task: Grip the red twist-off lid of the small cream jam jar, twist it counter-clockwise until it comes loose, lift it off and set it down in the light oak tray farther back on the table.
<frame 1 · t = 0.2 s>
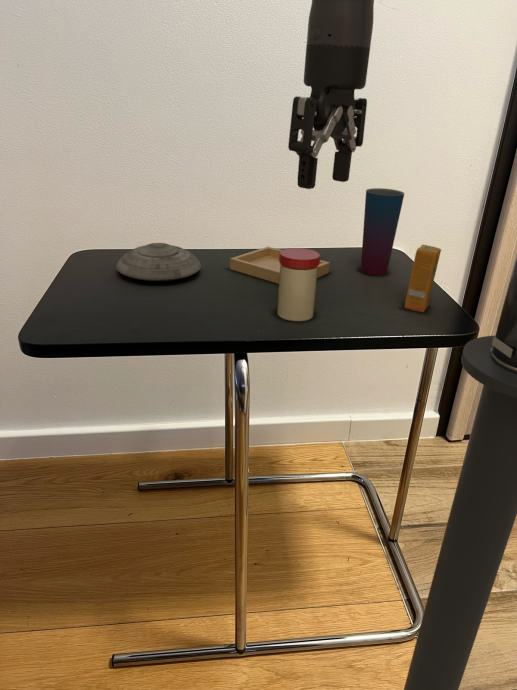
hand: (323, 184, 71), 20 cm above the table, tool pointing down, fingers open, 8 cm apart
tray: (279, 271, 102), on the table
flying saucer: (159, 274, 98), on the table
lid: (299, 255, 79), point 9 cm above the table, screwed on, not yet turned
supplement box: (416, 309, 88), on the table
cup: (373, 272, 104), on the table
jar: (295, 314, 84), on the table
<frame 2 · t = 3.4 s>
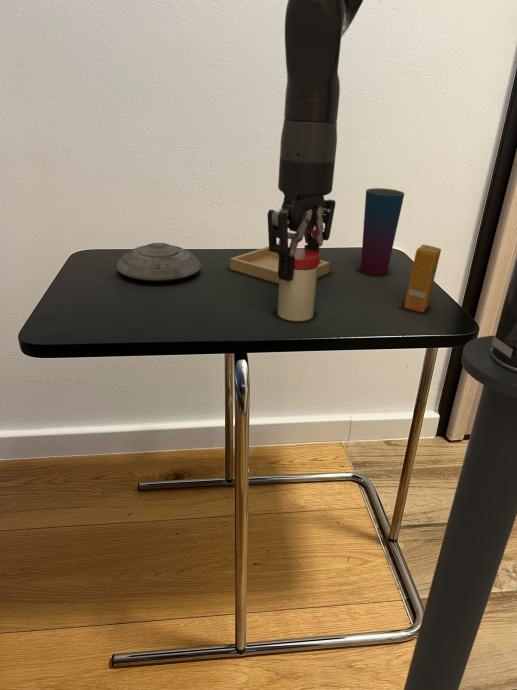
hand: (298, 274, 81), 6 cm above the table, tool pointing down, fingers closed on lid, 5 cm apart
lid: (299, 255, 79), point 9 cm above the table, screwed on, not yet turned, touching gripper
everything else where it was.
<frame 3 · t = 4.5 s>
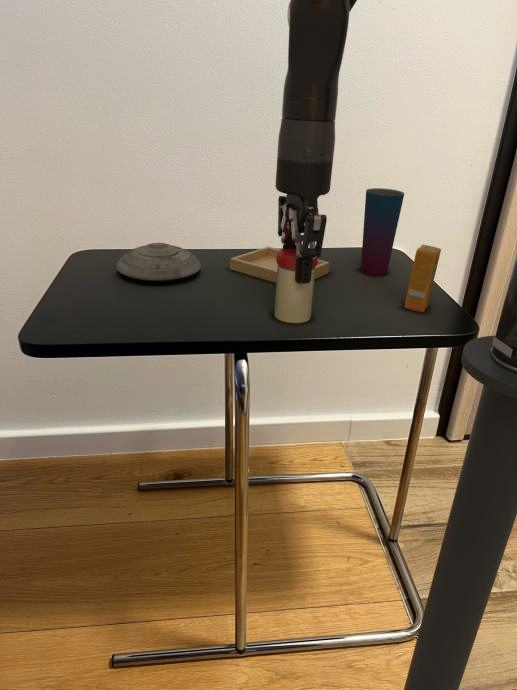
hand: (295, 275, 80), 7 cm above the table, tool pointing down, fingers closed on lid, 5 cm apart
lid: (297, 256, 79), point 9 cm above the table, turned 46° so far, risen 0.1 cm, still on its thread, touching gripper
everything else where it was.
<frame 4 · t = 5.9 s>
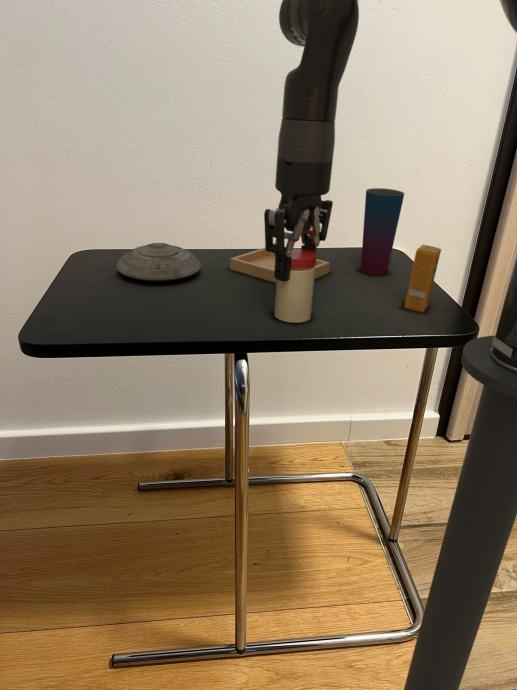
hand: (294, 274, 80), 7 cm above the table, tool pointing down, fingers closed on lid, 5 cm apart
lid: (296, 255, 79), point 9 cm above the table, off its thread, touching gripper
jar: (292, 315, 83), on the table, touching gripper
everything else where it was.
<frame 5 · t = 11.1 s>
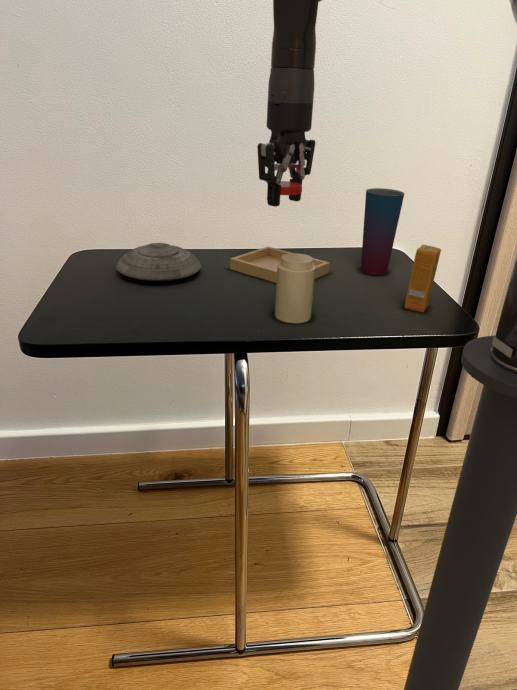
hand: (284, 202, 96), 13 cm above the table, tool pointing down, fingers closed on lid, 5 cm apart
lid: (285, 185, 95), point 16 cm above the table, off its thread, touching gripper
jar: (292, 315, 83), on the table
everything else where it was.
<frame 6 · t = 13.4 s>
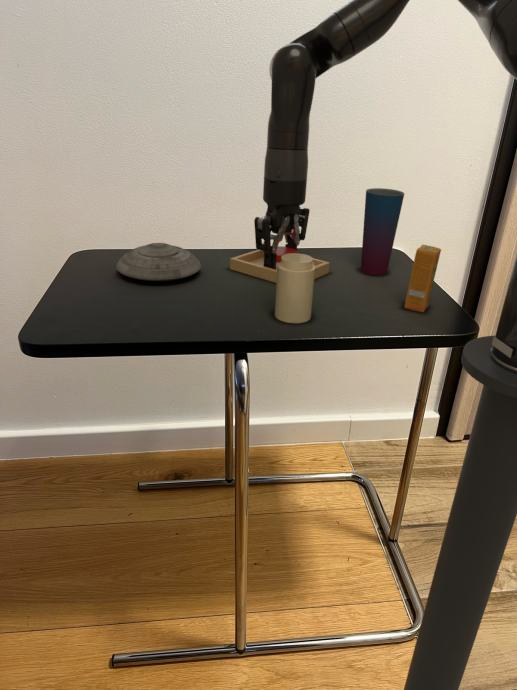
hand: (279, 267, 102), 1 cm above the table, tool pointing down, fingers closed on lid, 5 cm apart
lid: (280, 252, 100), point 4 cm above the table, off its thread, touching gripper
everything else where it was.
when the fingers open (1 cm above the table, at t = 18.9 s): lid drops 2 cm, resting on tray.
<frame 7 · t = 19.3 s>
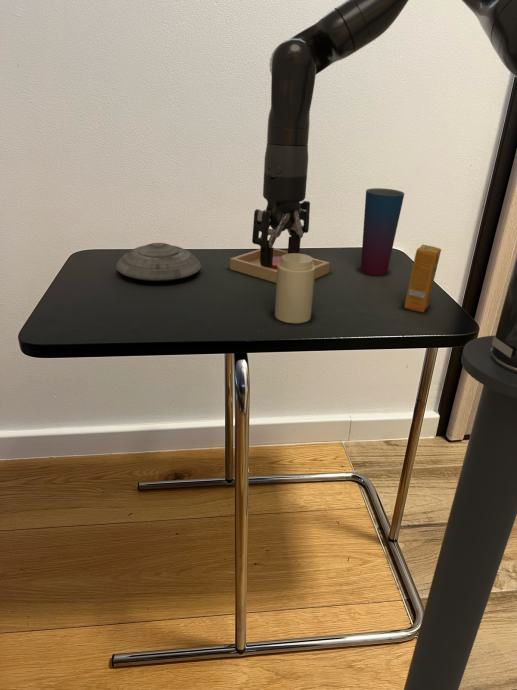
hand: (280, 261, 101), 2 cm above the table, tool pointing down, fingers open, 8 cm apart
lid: (279, 262, 101), point 2 cm above the table, off its thread, touching tray
everything else where it was.
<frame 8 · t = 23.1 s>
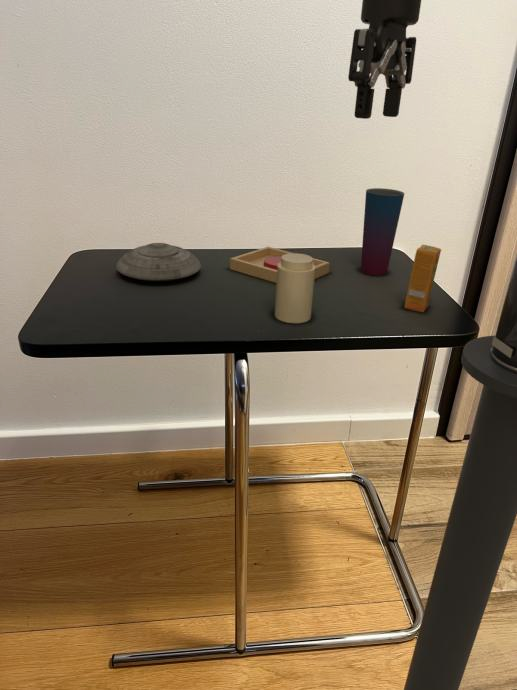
hand: (376, 117, 77), 28 cm above the table, tool pointing down, fingers open, 8 cm apart
nothing on the table moved.
at the end: lid came off its thread; lid inside the target area on the tray (0.1 cm from its centre), point 1.7 cm above the tray's base; the gripper is holding nothing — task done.
